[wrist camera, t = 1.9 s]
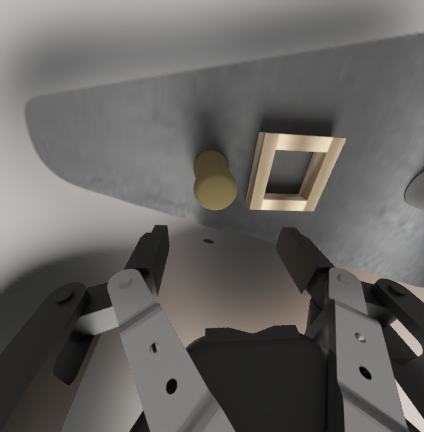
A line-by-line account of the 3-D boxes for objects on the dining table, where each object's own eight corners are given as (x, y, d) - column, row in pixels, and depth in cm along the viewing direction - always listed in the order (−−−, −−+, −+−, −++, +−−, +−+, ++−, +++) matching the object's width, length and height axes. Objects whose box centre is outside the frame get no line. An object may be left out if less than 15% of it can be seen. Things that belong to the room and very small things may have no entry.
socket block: (331, 136, 25) (346, 138, 22) (304, 203, 31) (313, 211, 29) (258, 131, 24) (265, 133, 22) (245, 202, 30) (249, 209, 28)
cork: (193, 149, 25) (188, 165, 15) (230, 151, 25) (248, 168, 16) (193, 185, 28) (189, 217, 19) (227, 186, 28) (239, 218, 19)
